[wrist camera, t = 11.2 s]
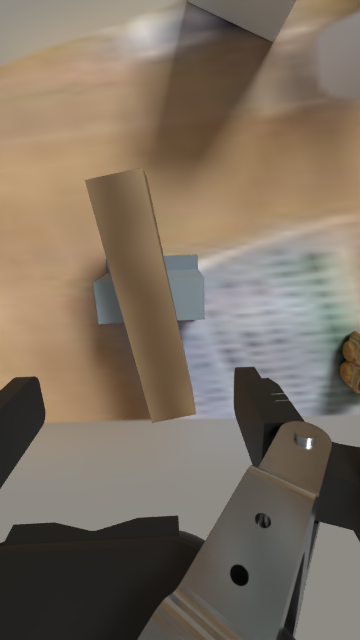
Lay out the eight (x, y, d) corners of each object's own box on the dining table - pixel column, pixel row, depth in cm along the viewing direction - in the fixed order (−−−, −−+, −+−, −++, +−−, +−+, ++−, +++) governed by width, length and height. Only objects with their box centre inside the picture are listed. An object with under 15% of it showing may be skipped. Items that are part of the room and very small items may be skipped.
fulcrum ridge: (196, 254, 31) (203, 260, 25) (197, 314, 34) (204, 334, 27) (107, 258, 31) (90, 264, 25) (114, 318, 33) (100, 339, 27)
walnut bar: (146, 178, 23) (142, 167, 19) (192, 390, 29) (196, 414, 25) (99, 189, 23) (84, 180, 19) (154, 397, 29) (152, 422, 25)
